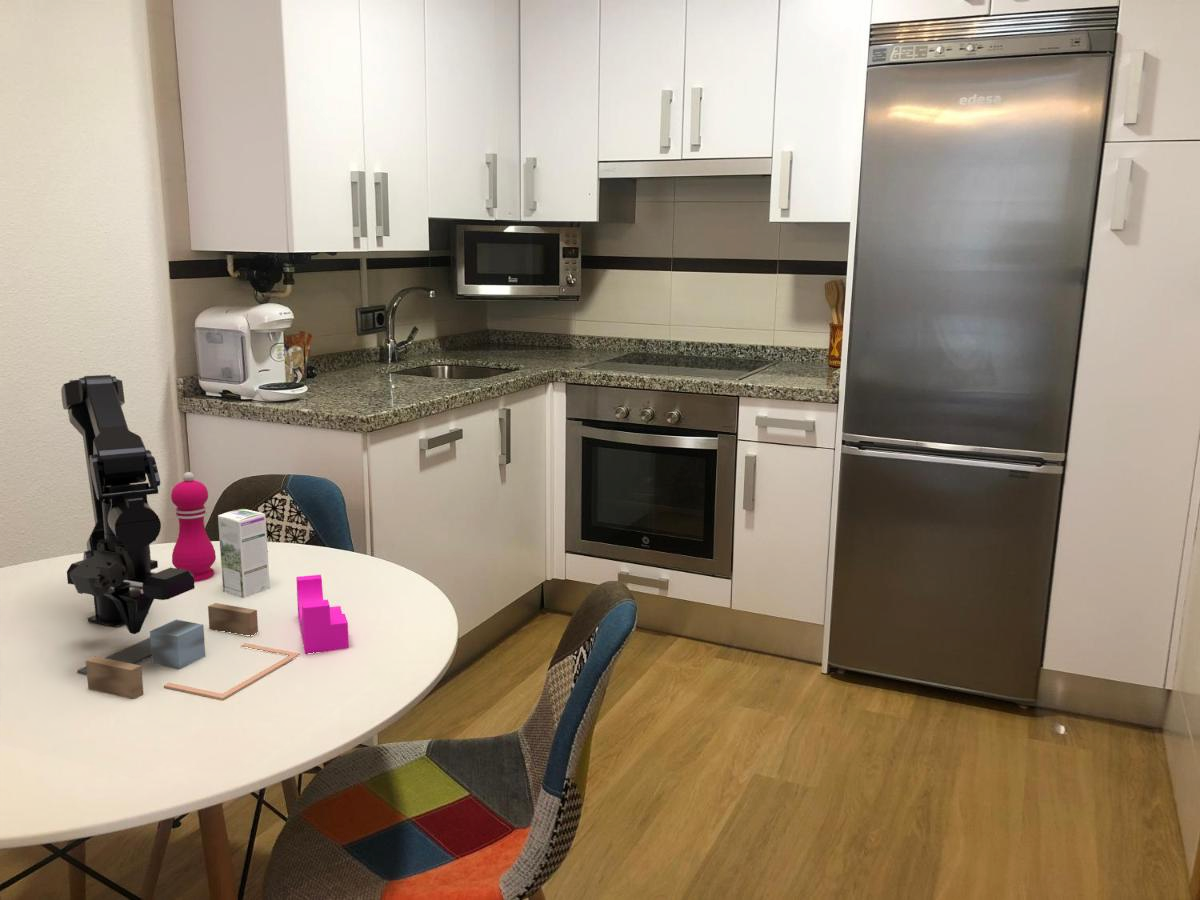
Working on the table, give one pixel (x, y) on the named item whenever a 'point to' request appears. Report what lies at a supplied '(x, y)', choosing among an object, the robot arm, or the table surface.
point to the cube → (177, 644)
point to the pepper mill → (192, 529)
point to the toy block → (319, 618)
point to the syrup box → (243, 552)
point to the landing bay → (243, 684)
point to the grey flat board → (129, 654)
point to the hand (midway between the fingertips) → (134, 632)
